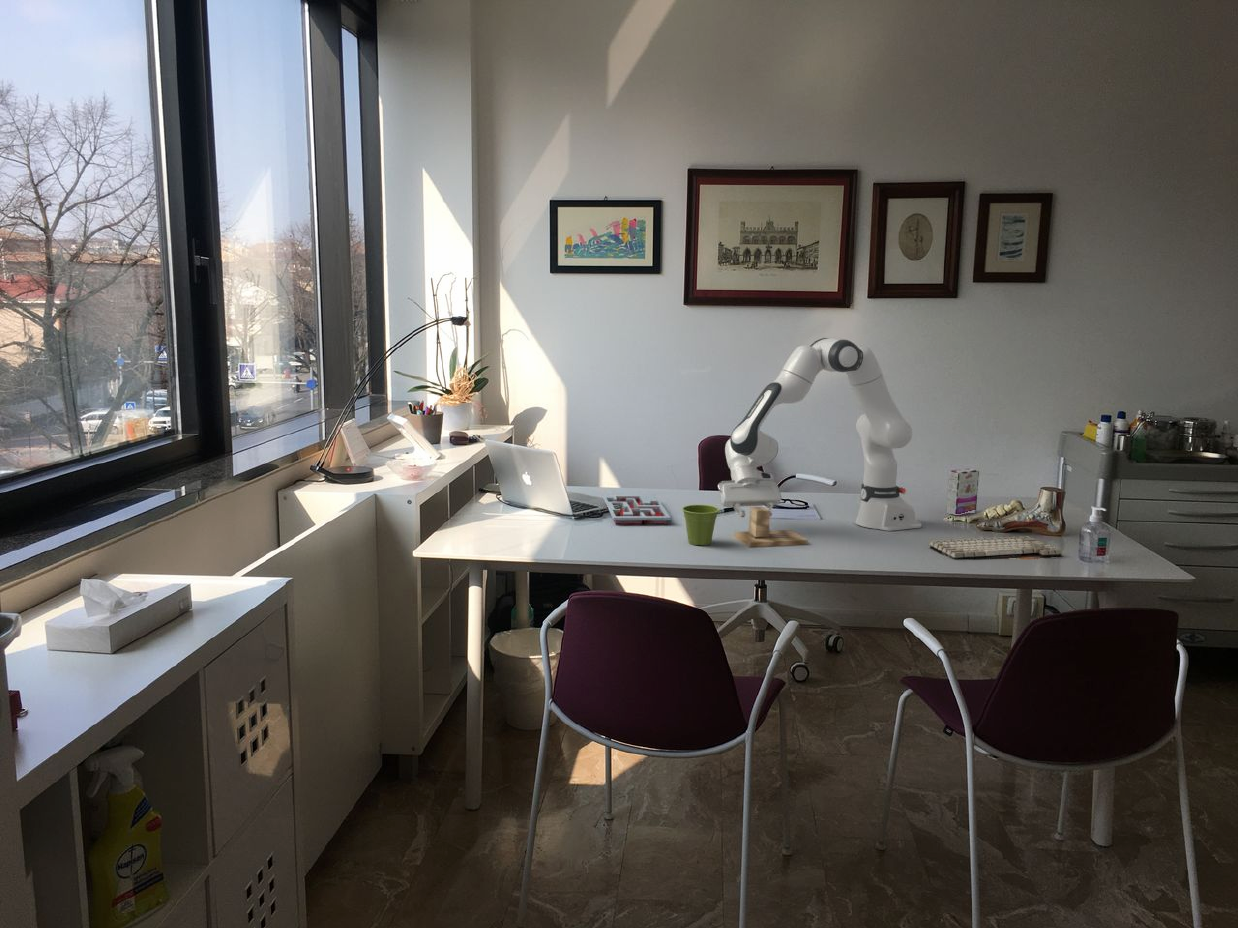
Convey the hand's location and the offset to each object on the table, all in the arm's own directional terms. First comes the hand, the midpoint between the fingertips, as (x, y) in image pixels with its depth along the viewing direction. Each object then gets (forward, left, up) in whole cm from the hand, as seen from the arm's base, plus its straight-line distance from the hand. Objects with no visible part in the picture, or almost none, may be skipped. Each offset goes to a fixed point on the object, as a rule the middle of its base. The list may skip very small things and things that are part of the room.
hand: (756, 515), depth 314 cm
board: (-4, +3, -8) cm, 9 cm away
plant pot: (+20, +2, -8) cm, 22 cm away
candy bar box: (-91, -22, -8) cm, 94 cm away
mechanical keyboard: (-70, +28, -8) cm, 76 cm away
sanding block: (0, +3, -6) cm, 7 cm away
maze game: (+29, -40, -8) cm, 50 cm away
